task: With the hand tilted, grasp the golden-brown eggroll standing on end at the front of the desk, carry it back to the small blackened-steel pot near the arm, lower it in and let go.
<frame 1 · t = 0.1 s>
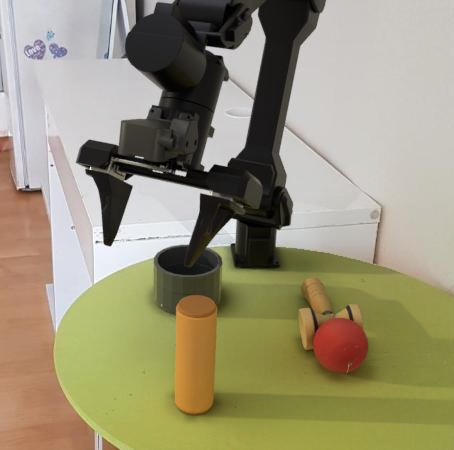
hand: (146, 255, 75), 15 cm above the table, tool tilted 35°, fingers open, 9 cm apart
eggroll: (194, 403, 78), on the table
pot: (187, 297, 97), on the table
kendama: (324, 338, 90), on the table
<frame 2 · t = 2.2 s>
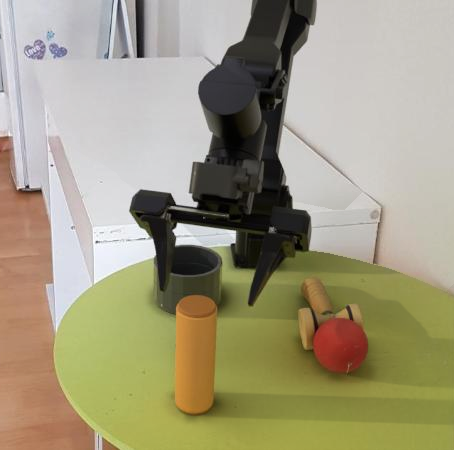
hand: (205, 298, 76), 11 cm above the table, tool tilted 45°, fingers open, 9 cm apart
nothing on the table moved.
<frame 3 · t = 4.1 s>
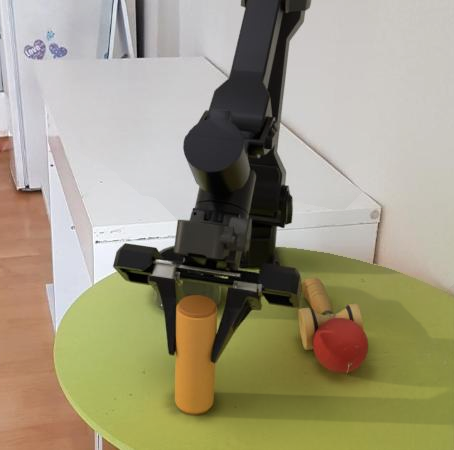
hand: (191, 358, 74), 7 cm above the table, tool tilted 45°, fingers closed on eggroll, 4 cm apart
eggroll: (194, 403, 78), on the table, touching gripper
everything else where it was.
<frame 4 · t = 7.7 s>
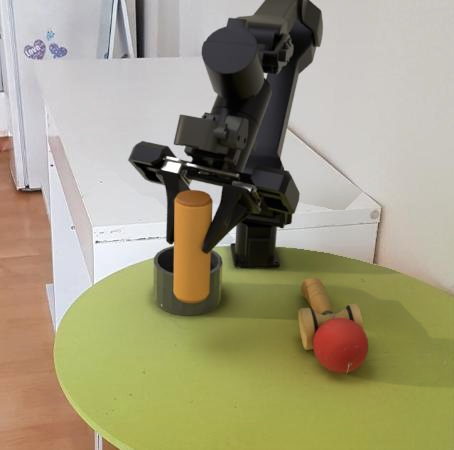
hand: (186, 247, 80), 13 cm above the table, tool tilted 45°, fingers closed on eggroll, 4 cm apart
eggroll: (191, 294, 84), point 7 cm above the table, touching gripper
everything else where it was.
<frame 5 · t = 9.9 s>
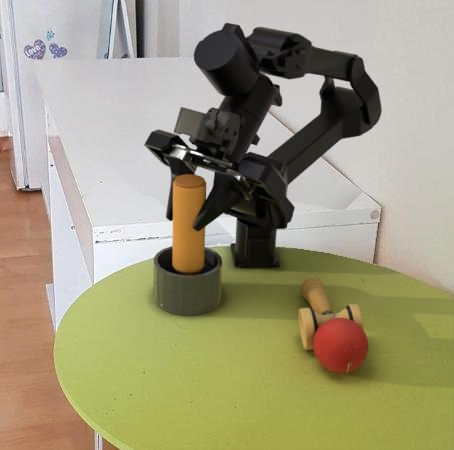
hand: (181, 224, 91), 11 cm above the table, tool tilted 45°, fingers closed on eggroll, 4 cm apart
eggroll: (188, 267, 95), point 4 cm above the table, touching gripper
everything else where it was.
when the fingers open (7 cm above the table, at t = 11.4 s): eggroll stays where it is, resting on pot.
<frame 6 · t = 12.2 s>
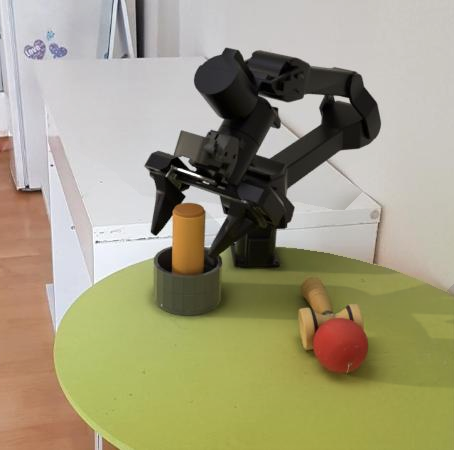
hand: (180, 245, 92), 8 cm above the table, tool tilted 45°, fingers open, 9 cm apart
eggroll: (187, 293, 97), point 1 cm above the table, touching pot
everything else where it was.
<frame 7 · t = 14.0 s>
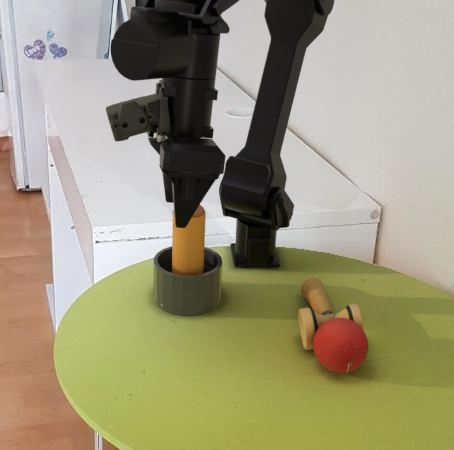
hand: (175, 214, 85), 15 cm above the table, tool pointing down, fingers open, 9 cm apart
nothing on the table moved.
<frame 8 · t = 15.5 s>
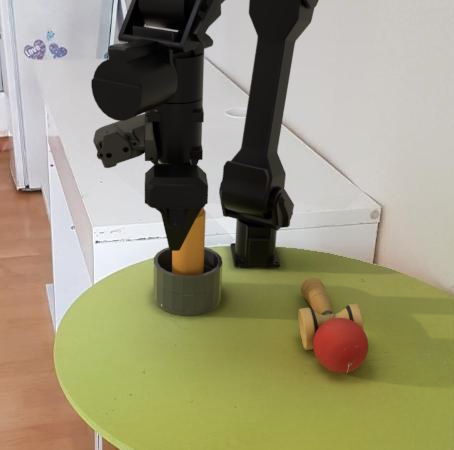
hand: (173, 231, 85), 13 cm above the table, tool pointing down, fingers open, 9 cm apart
nothing on the table moved.
at the end: eggroll 0.0 cm from the pot (horizontally); eggroll point 0.6 cm above the table; the gripper is holding nothing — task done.
